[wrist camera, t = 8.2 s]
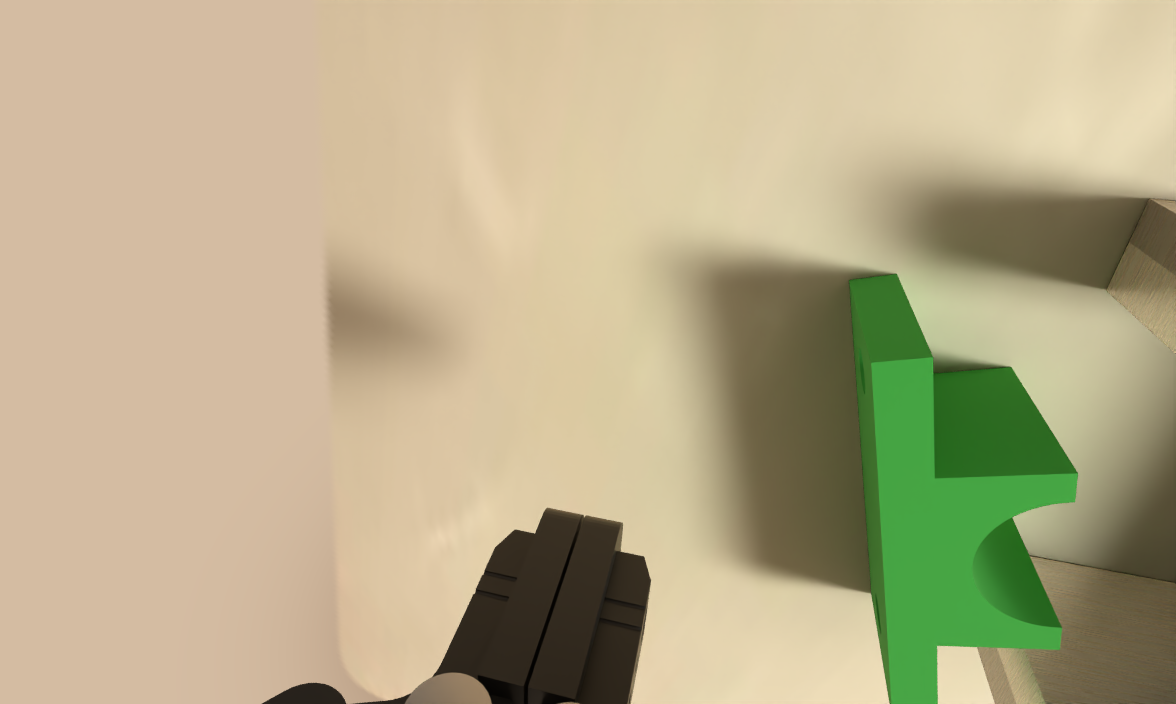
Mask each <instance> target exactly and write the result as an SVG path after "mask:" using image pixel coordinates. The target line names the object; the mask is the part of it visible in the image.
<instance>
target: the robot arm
mask: <svg viewBox="0 0 1176 704" xmlns="http://www.w3.org/2000/svg"><path fill="white" fill-rule="evenodd" d="M622 531H623V523H621V522H616V521H611V520H606V519H601V518H596V517H591V516H585V518H584V515H580V514H576V513H571V512H566V511H561V510H556V509H551V508H546V510H545V511H544V513H543V516H542V518H541V520H540V523H539V525H538V528H537V530H536V533H535V534H534V533H529V532H524V531H520V530H514V531H513V532H512V533H511V534H509V535H508V536H507V537H506V538H505V539H504V540H503V541H502V542H501V543H500V544H499V545H497V546H496V547H495V549H494V551H493V554H492V556H491V558H490V560H489V562H488V564H487V566H486V569H485V572H484V575H482V577H481V579H480V581H479V584H478V586H477V588H476V592H475V594H473V597H472V599H471V601H470V603H469V605H468V607H467V609H466V612H465V614H464V616H463V618H462V620H461V622H460V625H459V627H458V629H457V631H456V633H455V635H454V637H453V640H452V642H451V644H450V646H449V648H448V650H447V652H446V655H445V657H444V659H443V661H442V663H441V665H440V667H439V669H438V670H437V671H436V673H435V674H434V675H433V677H432V678H430V679H428V680H426V681H425V682H423V683H422V684H421V685H419V686H418V687H417V688H416V689H415V690H414V691H413V692H412V693H411V694H408V695H406V696H404V697H401V698H398V699H394V700H388V701H378V702H367V703H356V704H631V699H632V694H633V688H634V682H635V677H636V672H637V667H638V661H639V656H640V651H641V645H642V640H643V635H644V628H645V621H646V614H647V606H648V599H649V592H650V584H651V580H650V576H649V572H648V569H647V565H646V562H645V558H644V557H643V556H639V555H634V554H629V553H624V552H620V551H621V541H622ZM262 704H346V702H345V699H344V698H343V696H342V695H341V694H340V693H339V692H338V691H337V690H336V689H334V688H333V687H331V686H329V685H326V684H320V683H307V684H302V685H298V686H295V687H292V688H290V689H288V690H286V691H284V692H282V693H280V694H279V695H277V696H275V697H273V698H271V699H269V700H268V701H266V702H264V703H262Z"/></svg>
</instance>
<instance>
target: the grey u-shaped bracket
mask: <svg viewBox="0 0 1176 704" xmlns="http://www.w3.org/2000/svg"><path fill="white" fill-rule="evenodd" d="M1106 291H1107V292H1108V293H1109V294H1111V295H1112V296H1113V297H1114V298H1115V299H1116V300H1117V301H1118V302H1119V303H1120V304H1122V305H1123V306H1124V307H1125V308H1126V309H1127V310H1128V311H1129V312H1130V313H1131V314H1132V315H1134V316H1135V317H1136V318H1137V319H1138V320H1139V321H1140V322H1141V323H1142V324H1143V325H1145V326H1146V327H1147V328H1148V329H1149V330H1150V331H1151V332H1152V333H1153V334H1154V335H1156V336H1157V337H1158V338H1159V339H1160V340H1161V341H1162V342H1163V343H1164V344H1165V345H1167V346H1168V347H1169V348H1170V349H1171V350H1172V351H1173V352H1174V353H1175V354H1176V201H1170V200H1159V199H1149V201H1148V203H1147V205H1146V207H1145V209H1144V211H1143V214H1142V216H1141V218H1140V220H1139V222H1138V224H1137V226H1136V228H1135V231H1134V233H1133V235H1132V237H1131V239H1130V241H1129V243H1128V245H1127V248H1126V250H1125V252H1124V254H1123V256H1122V258H1121V260H1120V262H1119V265H1118V267H1117V269H1116V271H1115V273H1114V275H1113V277H1112V279H1111V282H1110V284H1109V286H1108V288H1107V290H1106ZM1030 558H1031V560H1032V563H1033V565H1034V567H1035V569H1036V571H1037V574H1038V576H1039V578H1040V580H1041V582H1042V585H1043V587H1044V589H1045V591H1046V593H1047V596H1048V598H1049V600H1050V602H1051V604H1052V607H1053V609H1054V611H1055V613H1056V615H1057V618H1058V620H1059V622H1060V624H1061V626H1062V634H1061V644H1060V650H1047V649H1019V648H991V647H977V648H978V652H979V655H980V658H981V661H982V664H983V667H984V670H985V674H986V677H987V680H988V683H989V686H990V689H991V692H992V696H993V699H994V702H995V704H1176V583H1172V582H1167V581H1162V580H1156V579H1151V578H1145V577H1140V576H1135V575H1129V574H1124V573H1118V572H1113V571H1107V570H1102V569H1097V568H1091V567H1086V566H1080V565H1075V564H1070V563H1064V562H1059V561H1053V560H1048V559H1043V558H1037V557H1032V556H1030Z"/></svg>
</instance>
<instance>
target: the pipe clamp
mask: <svg viewBox="0 0 1176 704" xmlns="http://www.w3.org/2000/svg"><path fill="white" fill-rule="evenodd" d="M849 287H850V301H851V315H852V329H853V343H854V358H855V372H856V386H857V400H858V414H859V428H860V442H861V456H862V470H863V484H864V498H865V513H866V527H867V541H868V555H869V569H870V583H871V595H872V601H873V607H874V613H875V619H876V625H877V631H878V637H879V643H880V649H881V655H882V661H883V667H884V673H885V679H886V685H887V691H888V697H889V703H890V704H938V694H937V646H963V647H991V648H1019V649H1047V650H1060V644H1061V634H1062V626H1061V624H1060V622H1059V620H1058V618H1057V615H1056V613H1055V611H1054V609H1053V607H1052V604H1051V602H1050V600H1049V598H1048V596H1047V593H1046V591H1045V589H1044V587H1043V585H1042V582H1041V580H1040V578H1039V576H1038V574H1037V571H1036V569H1035V567H1034V565H1033V563H1032V560H1031V558H1030V556H1029V554H1028V552H1027V549H1026V547H1025V545H1024V543H1023V541H1022V538H1021V536H1020V534H1019V532H1018V530H1017V527H1016V525H1015V523H1014V521H1013V518H1012V517H1014V516H1016V515H1018V514H1020V513H1023V512H1026V511H1028V510H1031V509H1035V508H1038V507H1042V506H1047V505H1051V504H1058V503H1069V502H1075V498H1076V488H1077V478H1078V473H1077V471H1076V469H1075V468H1074V466H1073V465H1072V463H1071V461H1070V460H1069V458H1068V457H1067V455H1066V454H1065V452H1064V450H1063V449H1062V447H1061V446H1060V444H1059V442H1058V441H1057V439H1056V438H1055V436H1054V434H1053V433H1052V431H1051V430H1050V428H1049V426H1048V425H1047V423H1046V422H1045V420H1044V419H1043V417H1042V415H1041V414H1040V412H1039V411H1038V409H1037V407H1036V406H1035V404H1034V403H1033V401H1032V399H1031V398H1030V396H1029V395H1028V393H1027V391H1026V390H1025V388H1024V387H1023V385H1022V383H1021V382H1020V380H1019V379H1018V377H1017V376H1016V374H1015V372H1014V371H1013V369H1012V368H1011V367H1004V368H992V369H980V370H968V371H956V372H944V373H933V356H932V354H931V351H930V349H929V347H928V345H927V342H926V340H925V338H924V335H923V333H922V331H921V328H920V326H919V324H918V322H917V319H916V317H915V315H914V312H913V310H912V308H911V306H910V303H909V301H908V299H907V296H906V294H905V292H904V290H903V287H902V285H901V283H900V280H899V278H898V276H897V274H892V275H885V276H877V277H869V278H861V279H853V280H849Z"/></svg>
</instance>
